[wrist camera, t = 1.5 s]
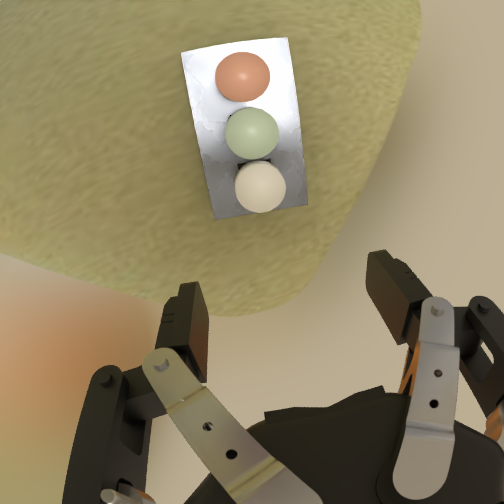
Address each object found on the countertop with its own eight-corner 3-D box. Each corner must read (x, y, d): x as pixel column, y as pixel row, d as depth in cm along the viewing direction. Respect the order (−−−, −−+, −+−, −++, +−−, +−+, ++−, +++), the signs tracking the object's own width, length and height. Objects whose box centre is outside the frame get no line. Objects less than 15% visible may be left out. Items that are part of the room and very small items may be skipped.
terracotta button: (213, 62, 20) (210, 56, 17) (260, 55, 20) (266, 48, 17) (221, 105, 22) (219, 106, 19) (267, 98, 22) (274, 98, 19)
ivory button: (230, 158, 25) (231, 169, 22) (274, 151, 25) (282, 161, 22) (238, 199, 27) (240, 216, 24) (280, 192, 27) (288, 208, 24)
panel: (184, 56, 21) (180, 52, 19) (282, 42, 21) (287, 37, 19) (215, 210, 30) (215, 220, 27) (302, 196, 29) (307, 204, 27)
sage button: (221, 110, 23) (220, 112, 19) (267, 103, 23) (275, 104, 19) (229, 153, 25) (230, 163, 21) (274, 146, 25) (282, 155, 21)
